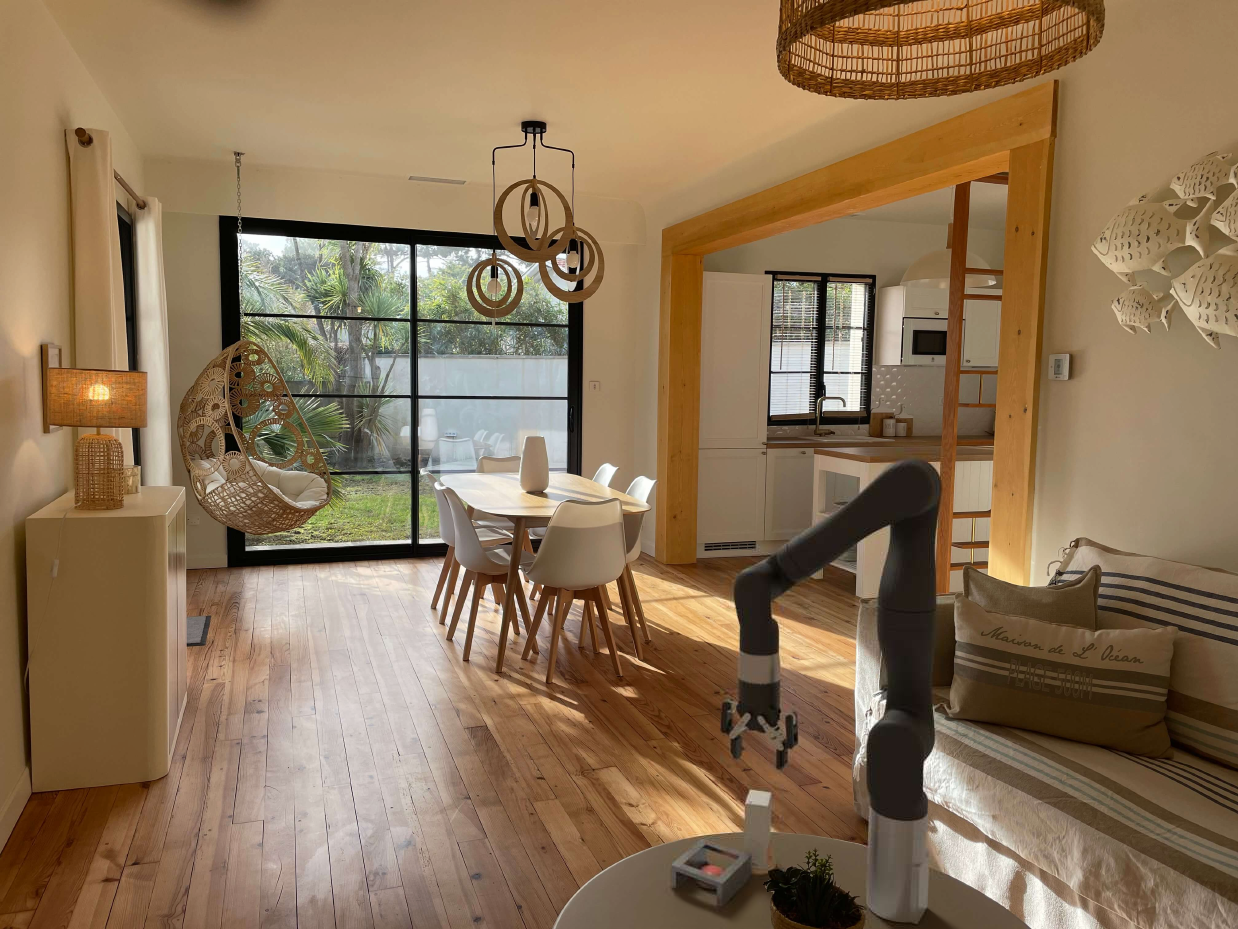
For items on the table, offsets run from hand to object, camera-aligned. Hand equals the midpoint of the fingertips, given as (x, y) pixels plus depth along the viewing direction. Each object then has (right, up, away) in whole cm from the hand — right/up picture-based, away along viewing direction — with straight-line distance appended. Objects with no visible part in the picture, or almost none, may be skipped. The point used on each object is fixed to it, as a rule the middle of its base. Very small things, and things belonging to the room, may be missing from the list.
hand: (758, 763), depth 158 cm
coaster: (0, -19, +2) cm, 19 cm away
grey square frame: (-9, -20, -4) cm, 22 cm away
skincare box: (0, -19, +2) cm, 19 cm away
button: (-9, -19, -4) cm, 22 cm away
